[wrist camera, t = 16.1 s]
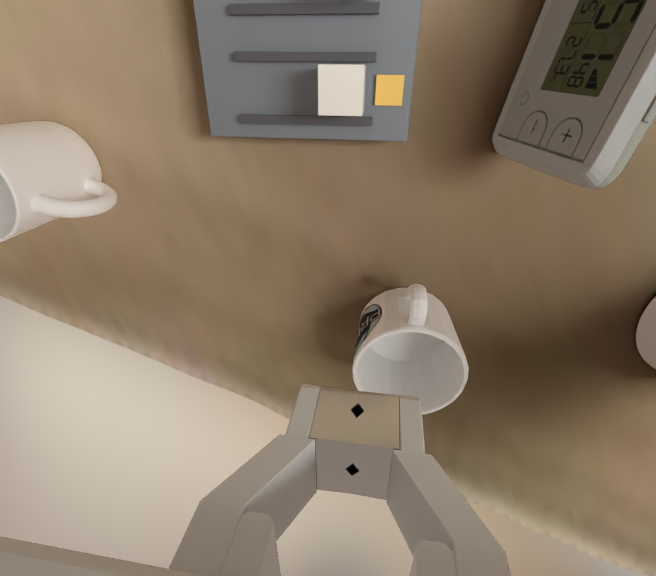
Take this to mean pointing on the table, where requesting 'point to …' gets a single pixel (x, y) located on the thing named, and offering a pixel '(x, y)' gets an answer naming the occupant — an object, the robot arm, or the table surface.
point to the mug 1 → (47, 177)
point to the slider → (341, 89)
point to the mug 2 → (409, 349)
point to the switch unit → (306, 65)
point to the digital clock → (582, 90)
